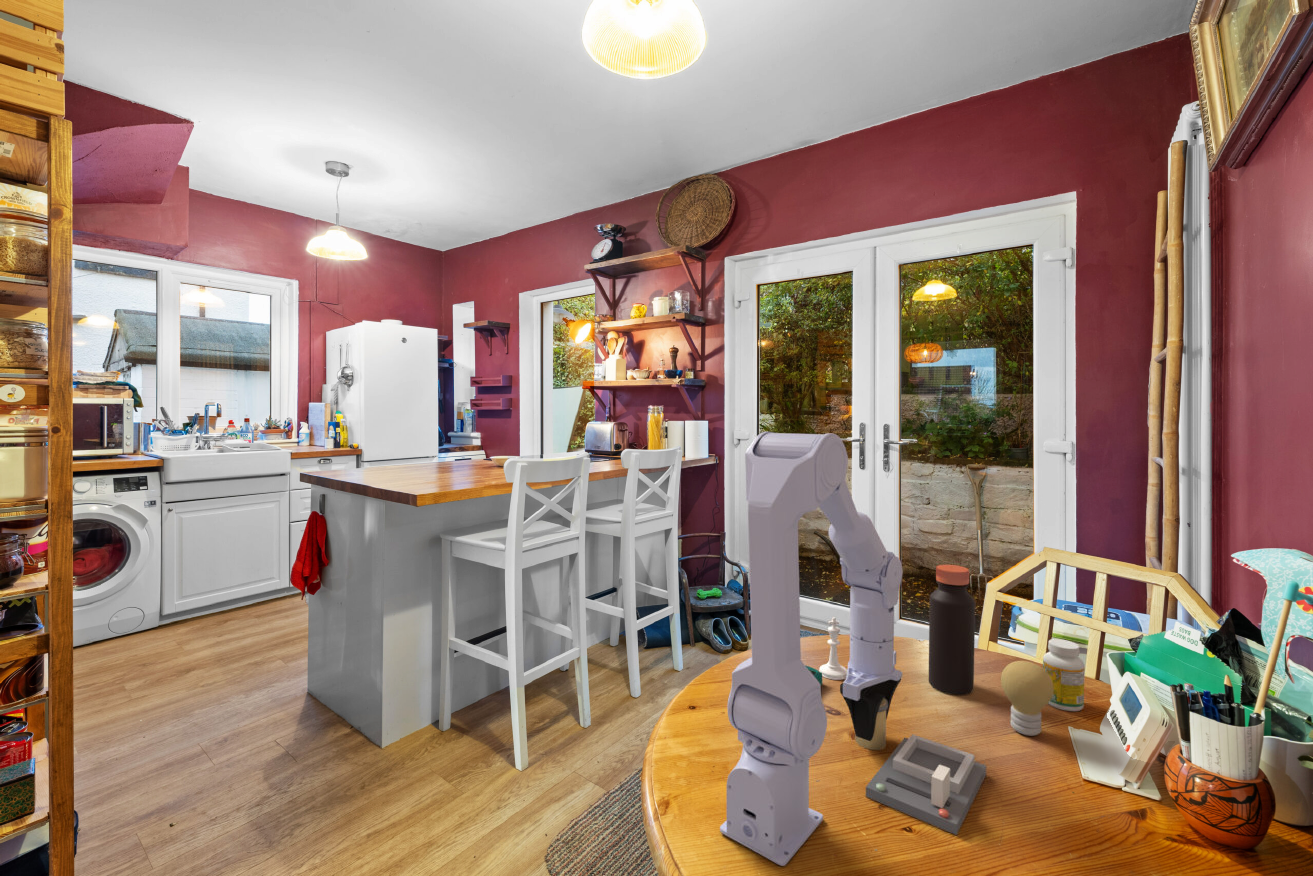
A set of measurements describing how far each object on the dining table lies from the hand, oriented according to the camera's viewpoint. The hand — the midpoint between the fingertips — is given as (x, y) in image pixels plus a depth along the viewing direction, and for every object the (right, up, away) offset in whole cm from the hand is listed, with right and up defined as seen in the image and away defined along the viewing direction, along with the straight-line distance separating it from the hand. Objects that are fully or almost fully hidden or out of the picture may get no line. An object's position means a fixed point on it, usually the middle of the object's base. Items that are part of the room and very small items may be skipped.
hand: (870, 730), depth 83 cm
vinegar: (+19, -1, +16) cm, 25 cm away
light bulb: (+23, -2, +3) cm, 23 cm away
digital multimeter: (-9, -2, +14) cm, 17 cm away
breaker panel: (+4, -2, -10) cm, 10 cm away
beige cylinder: (0, -2, 0) cm, 2 cm away
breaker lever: (+3, -1, -14) cm, 15 cm away
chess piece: (+1, -1, +21) cm, 21 cm away
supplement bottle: (+34, -1, +10) cm, 36 cm away
